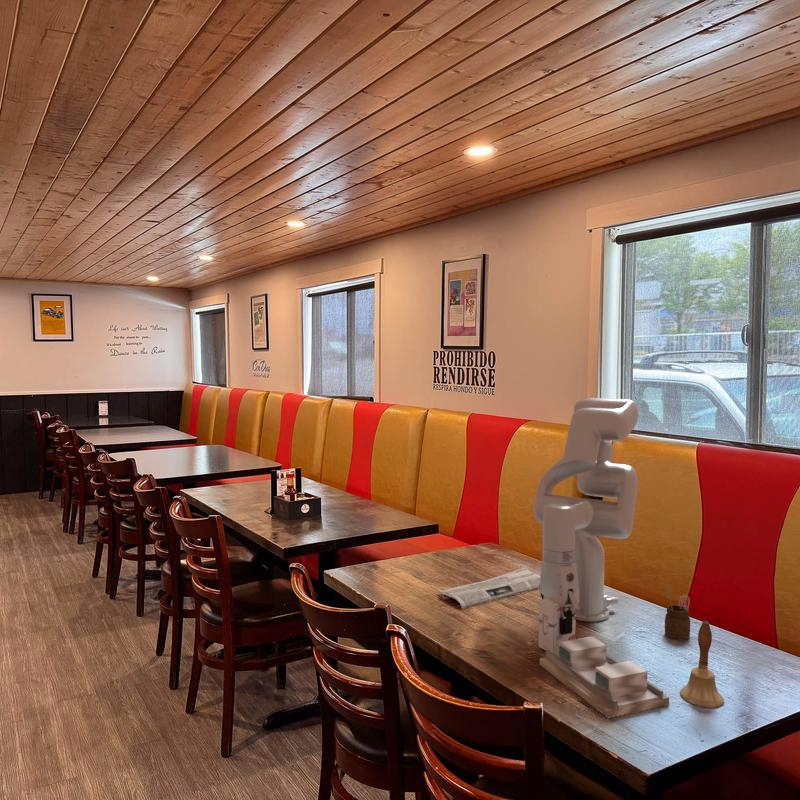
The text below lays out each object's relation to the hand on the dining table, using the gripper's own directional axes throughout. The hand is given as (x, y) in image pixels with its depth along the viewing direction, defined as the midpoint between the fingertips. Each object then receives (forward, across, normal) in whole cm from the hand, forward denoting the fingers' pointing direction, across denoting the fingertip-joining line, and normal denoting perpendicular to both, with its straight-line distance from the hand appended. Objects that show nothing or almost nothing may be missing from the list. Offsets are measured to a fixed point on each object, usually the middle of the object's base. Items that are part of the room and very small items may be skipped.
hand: (557, 627), depth 159 cm
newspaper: (+6, +40, -5) cm, 41 cm away
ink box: (+5, 0, 0) cm, 5 cm away
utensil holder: (+6, -4, -32) cm, 33 cm away
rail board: (+5, -18, +2) cm, 19 cm away
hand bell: (+5, -30, -14) cm, 34 cm away
